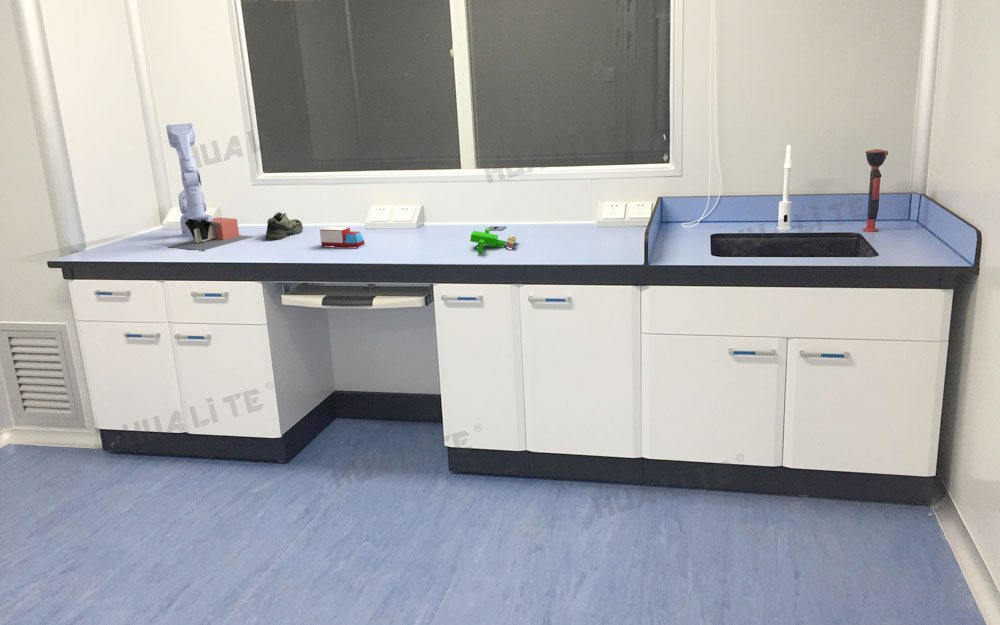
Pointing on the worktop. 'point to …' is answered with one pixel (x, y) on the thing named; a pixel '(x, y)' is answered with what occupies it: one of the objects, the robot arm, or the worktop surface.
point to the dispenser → (225, 228)
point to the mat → (207, 243)
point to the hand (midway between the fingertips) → (200, 239)
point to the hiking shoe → (282, 227)
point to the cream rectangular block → (210, 234)
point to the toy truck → (340, 237)
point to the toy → (490, 240)
